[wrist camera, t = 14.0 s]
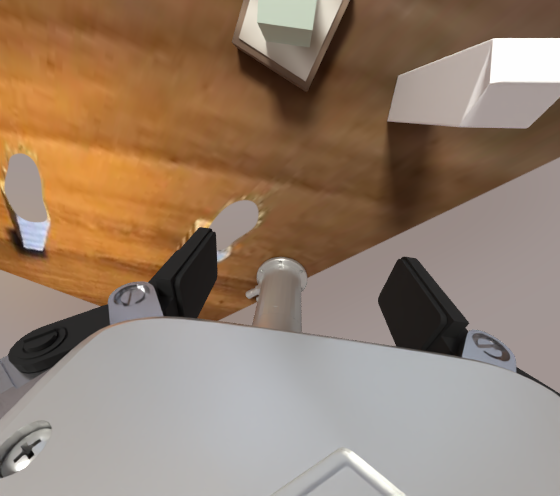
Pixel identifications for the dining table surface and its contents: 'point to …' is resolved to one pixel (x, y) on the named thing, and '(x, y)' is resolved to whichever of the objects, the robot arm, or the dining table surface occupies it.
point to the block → (287, 21)
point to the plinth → (283, 57)
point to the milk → (482, 86)
